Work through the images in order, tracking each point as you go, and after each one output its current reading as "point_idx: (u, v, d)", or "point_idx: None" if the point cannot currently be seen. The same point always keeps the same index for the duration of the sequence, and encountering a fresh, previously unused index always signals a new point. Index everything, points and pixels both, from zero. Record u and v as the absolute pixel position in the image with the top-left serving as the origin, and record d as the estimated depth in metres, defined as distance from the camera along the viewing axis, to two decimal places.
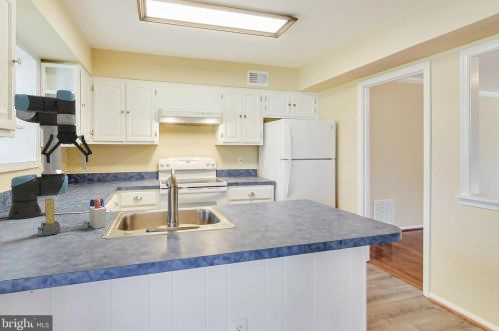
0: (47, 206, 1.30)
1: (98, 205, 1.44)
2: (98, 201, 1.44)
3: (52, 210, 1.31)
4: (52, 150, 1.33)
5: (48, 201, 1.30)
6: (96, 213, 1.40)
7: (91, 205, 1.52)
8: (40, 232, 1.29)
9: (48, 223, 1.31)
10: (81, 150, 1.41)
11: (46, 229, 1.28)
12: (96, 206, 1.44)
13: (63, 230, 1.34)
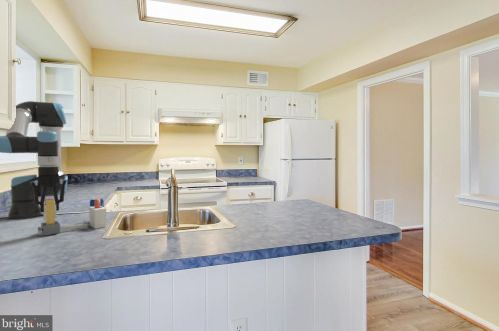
0: (47, 206, 1.30)
1: (98, 205, 1.44)
2: (98, 201, 1.44)
3: (52, 210, 1.31)
4: (43, 198, 1.29)
5: (48, 201, 1.30)
6: (96, 213, 1.40)
7: (91, 205, 1.52)
8: (40, 232, 1.29)
9: (48, 223, 1.31)
10: (54, 196, 1.32)
11: (46, 229, 1.28)
12: (96, 206, 1.44)
13: (63, 230, 1.34)
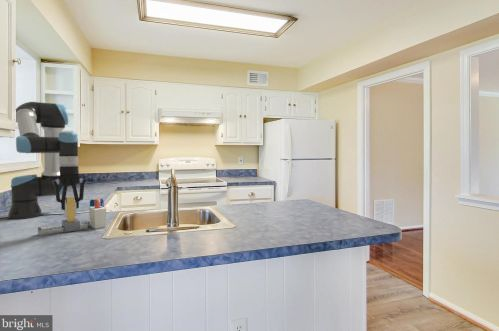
0: (68, 204, 1.35)
1: (98, 205, 1.44)
2: (98, 201, 1.44)
3: (72, 208, 1.37)
4: (64, 196, 1.35)
5: (69, 199, 1.36)
6: (96, 213, 1.40)
7: (91, 205, 1.52)
8: (40, 232, 1.29)
9: (69, 220, 1.36)
10: (75, 194, 1.37)
11: (67, 226, 1.33)
12: (96, 206, 1.44)
13: (63, 230, 1.34)
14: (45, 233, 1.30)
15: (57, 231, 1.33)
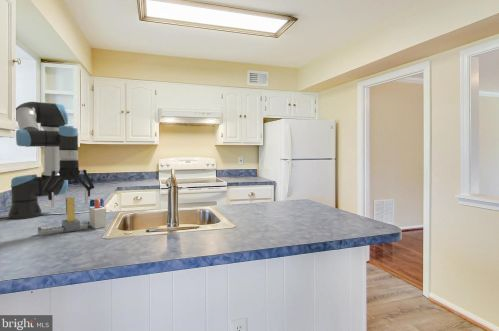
0: (68, 204, 1.35)
1: (98, 205, 1.44)
2: (98, 201, 1.44)
3: (73, 208, 1.37)
4: (54, 187, 1.32)
5: (69, 199, 1.36)
6: (96, 213, 1.40)
7: (91, 205, 1.52)
8: (40, 232, 1.29)
9: (69, 220, 1.36)
10: (83, 185, 1.40)
11: (67, 226, 1.33)
12: (96, 206, 1.44)
13: (63, 230, 1.34)
14: (45, 233, 1.30)
15: (57, 231, 1.33)
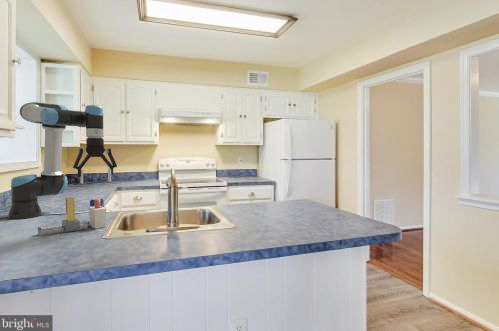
0: (68, 204, 1.35)
1: (98, 205, 1.44)
2: (98, 201, 1.44)
3: (73, 208, 1.37)
4: (83, 164, 1.39)
5: (69, 199, 1.36)
6: (96, 213, 1.40)
7: (91, 205, 1.52)
8: (40, 232, 1.29)
9: (69, 220, 1.36)
10: (107, 163, 1.46)
11: (67, 226, 1.33)
12: (96, 206, 1.44)
13: (63, 230, 1.34)
14: (45, 233, 1.30)
15: (57, 231, 1.33)
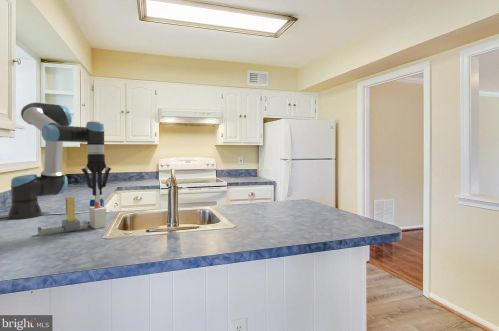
0: (68, 204, 1.35)
1: None
2: (98, 204, 1.44)
3: (73, 208, 1.37)
4: (94, 182, 1.43)
5: (69, 199, 1.36)
6: (96, 213, 1.40)
7: (91, 205, 1.52)
8: (40, 232, 1.29)
9: (69, 220, 1.36)
10: (99, 181, 1.44)
11: (67, 226, 1.33)
12: None
13: (63, 230, 1.34)
14: (45, 233, 1.30)
15: (57, 231, 1.33)
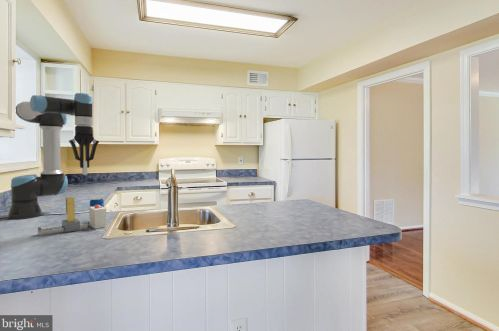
0: (68, 204, 1.35)
1: None
2: (98, 207, 1.44)
3: (73, 208, 1.37)
4: (82, 154, 1.43)
5: (69, 199, 1.36)
6: (96, 213, 1.40)
7: (91, 205, 1.52)
8: (40, 232, 1.29)
9: (69, 220, 1.36)
10: (86, 154, 1.44)
11: (67, 226, 1.33)
12: None
13: (63, 230, 1.34)
14: (45, 233, 1.30)
15: (57, 231, 1.33)
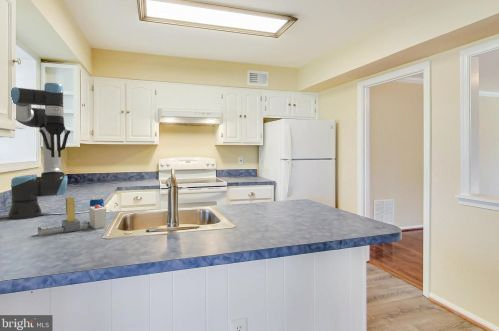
0: (68, 204, 1.35)
1: None
2: (98, 207, 1.44)
3: (73, 208, 1.37)
4: (52, 144, 1.43)
5: (69, 199, 1.36)
6: (96, 213, 1.40)
7: (91, 205, 1.52)
8: (40, 232, 1.29)
9: (69, 220, 1.36)
10: (57, 143, 1.44)
11: (67, 226, 1.33)
12: None
13: (63, 230, 1.34)
14: (45, 233, 1.30)
15: (57, 231, 1.33)
